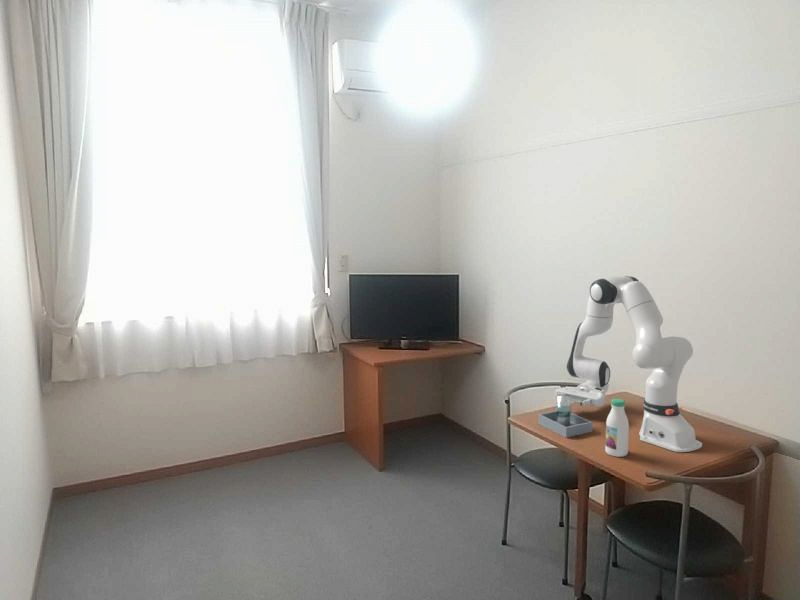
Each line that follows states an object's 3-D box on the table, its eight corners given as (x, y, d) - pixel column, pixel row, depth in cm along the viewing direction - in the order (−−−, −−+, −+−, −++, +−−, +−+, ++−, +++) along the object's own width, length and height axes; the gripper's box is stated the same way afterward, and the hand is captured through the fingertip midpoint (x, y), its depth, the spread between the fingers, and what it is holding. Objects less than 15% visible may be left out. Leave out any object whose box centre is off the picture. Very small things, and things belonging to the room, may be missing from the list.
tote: (592, 431, 223) (592, 422, 223) (566, 437, 218) (566, 427, 217) (563, 418, 239) (563, 409, 238) (538, 423, 233) (538, 414, 233)
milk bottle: (624, 448, 206) (626, 396, 203) (630, 457, 199) (632, 403, 196) (602, 448, 207) (604, 396, 204) (608, 457, 200) (610, 403, 197)
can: (573, 425, 229) (574, 397, 227) (562, 427, 227) (563, 399, 225) (563, 420, 234) (564, 393, 232) (553, 423, 232) (553, 395, 230)
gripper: (564, 382, 251) (548, 389, 241) (608, 391, 237) (594, 399, 227) (563, 395, 252) (548, 403, 242) (608, 405, 238) (593, 414, 228)
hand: (571, 401), depth 234 cm, fingers open, 8 cm apart
